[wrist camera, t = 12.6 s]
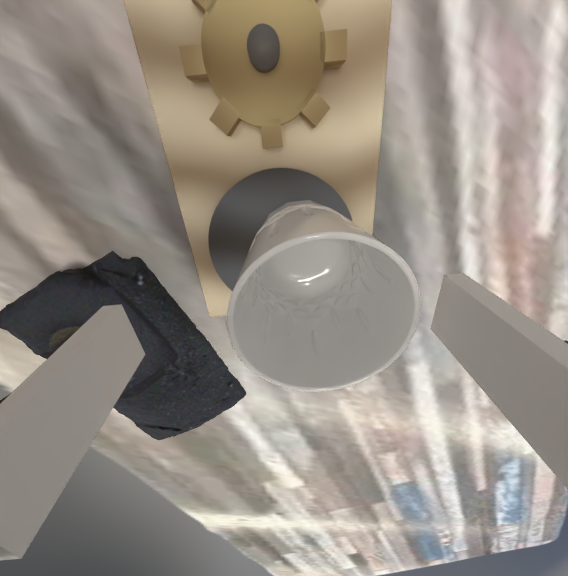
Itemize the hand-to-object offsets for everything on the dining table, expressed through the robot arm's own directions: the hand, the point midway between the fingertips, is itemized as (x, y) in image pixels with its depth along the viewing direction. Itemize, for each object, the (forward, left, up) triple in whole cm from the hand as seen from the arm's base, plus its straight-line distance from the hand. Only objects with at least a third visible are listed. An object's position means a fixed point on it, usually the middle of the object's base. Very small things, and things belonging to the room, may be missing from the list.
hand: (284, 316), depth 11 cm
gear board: (-5, 0, -12) cm, 12 cm away
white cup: (0, +2, -10) cm, 10 cm away
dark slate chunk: (+12, -16, -12) cm, 23 cm away
